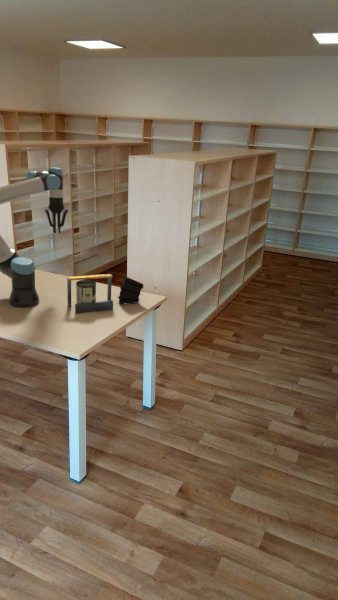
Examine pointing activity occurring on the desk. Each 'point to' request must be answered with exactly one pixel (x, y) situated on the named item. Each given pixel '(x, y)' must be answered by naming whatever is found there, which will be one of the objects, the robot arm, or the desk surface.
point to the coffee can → (85, 291)
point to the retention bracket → (91, 305)
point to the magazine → (130, 291)
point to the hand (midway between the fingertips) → (56, 238)
